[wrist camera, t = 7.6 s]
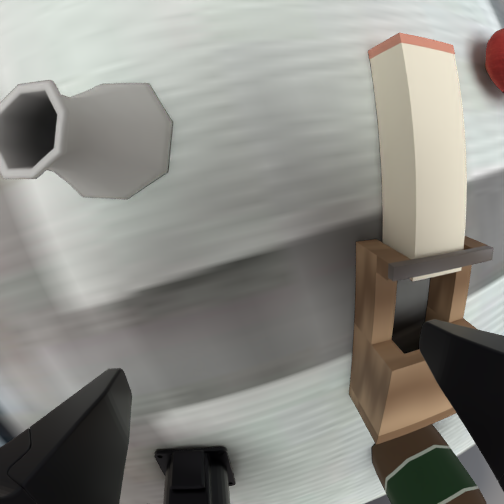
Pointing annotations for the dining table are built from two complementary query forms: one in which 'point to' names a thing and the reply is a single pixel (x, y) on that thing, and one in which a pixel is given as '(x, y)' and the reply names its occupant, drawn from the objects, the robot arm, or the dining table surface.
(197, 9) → the dining table surface
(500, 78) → the onion
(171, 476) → the robot arm
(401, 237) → the pink-topped cream pillar
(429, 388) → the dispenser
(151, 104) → the flask
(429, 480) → the beer bottle
